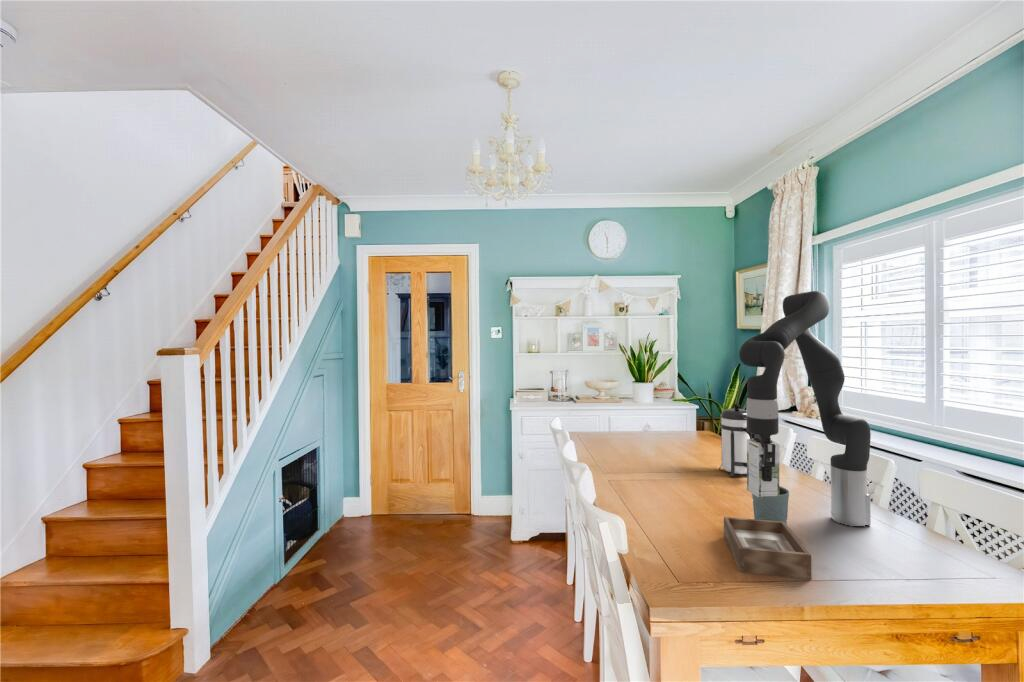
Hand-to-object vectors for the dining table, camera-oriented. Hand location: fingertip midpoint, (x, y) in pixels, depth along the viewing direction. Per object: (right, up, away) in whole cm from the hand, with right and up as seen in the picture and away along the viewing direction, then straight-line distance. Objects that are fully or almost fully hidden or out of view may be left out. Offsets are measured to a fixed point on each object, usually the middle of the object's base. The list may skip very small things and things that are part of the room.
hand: (762, 476), depth 121 cm
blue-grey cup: (+12, -21, +18) cm, 30 cm away
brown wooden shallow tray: (0, -22, 0) cm, 22 cm away
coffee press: (+29, -20, +69) cm, 78 cm away
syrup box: (0, -5, 0) cm, 5 cm away
